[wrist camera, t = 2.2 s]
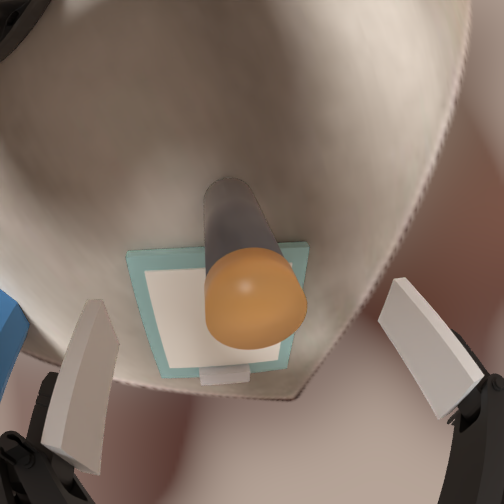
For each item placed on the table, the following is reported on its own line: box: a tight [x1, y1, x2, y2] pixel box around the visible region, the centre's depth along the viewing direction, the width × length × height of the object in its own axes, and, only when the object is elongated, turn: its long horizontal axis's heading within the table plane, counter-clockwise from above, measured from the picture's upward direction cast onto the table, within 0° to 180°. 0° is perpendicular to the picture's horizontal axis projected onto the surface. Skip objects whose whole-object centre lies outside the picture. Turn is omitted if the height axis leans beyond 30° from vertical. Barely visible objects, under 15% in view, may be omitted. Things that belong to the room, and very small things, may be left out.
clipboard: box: [126, 242, 310, 386], centre depth 28 cm, size 18×16×2 cm
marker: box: [204, 178, 307, 350], centre depth 17 cm, size 4×4×13 cm
